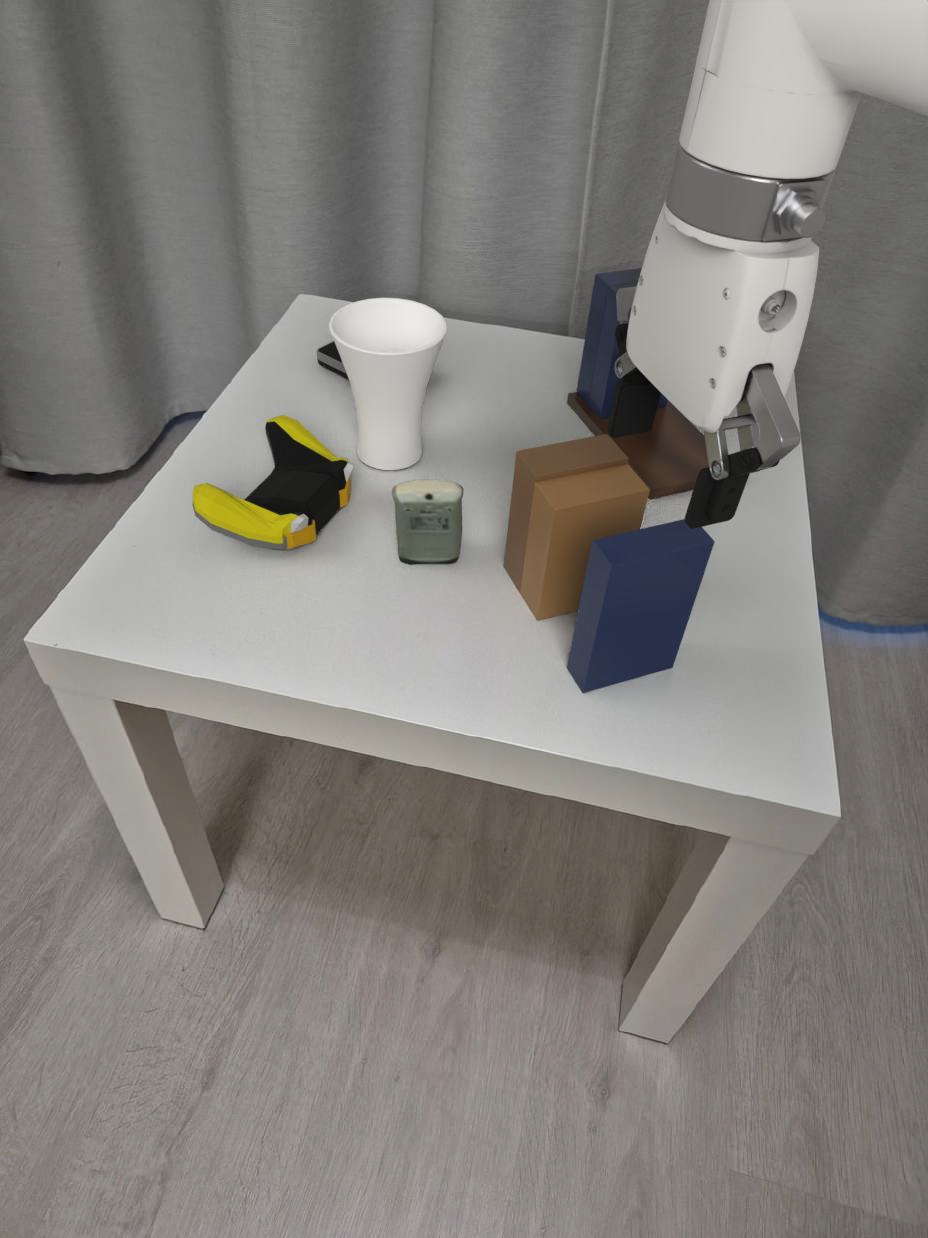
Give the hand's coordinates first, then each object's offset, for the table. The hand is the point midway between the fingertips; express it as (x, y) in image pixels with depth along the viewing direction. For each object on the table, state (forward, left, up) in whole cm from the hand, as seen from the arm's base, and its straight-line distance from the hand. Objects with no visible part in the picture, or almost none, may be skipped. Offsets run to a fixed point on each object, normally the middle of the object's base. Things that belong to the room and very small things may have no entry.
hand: (666, 474), depth 56 cm
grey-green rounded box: (+10, -17, -19) cm, 27 cm away
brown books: (0, -10, -18) cm, 21 cm away
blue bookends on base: (-18, -27, -18) cm, 37 cm away
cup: (+8, -33, -19) cm, 38 cm away
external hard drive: (+5, -48, -19) cm, 51 cm away
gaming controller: (+20, -27, -19) cm, 38 cm away
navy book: (0, 0, -18) cm, 18 cm away
